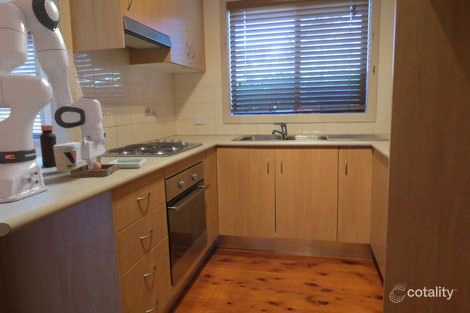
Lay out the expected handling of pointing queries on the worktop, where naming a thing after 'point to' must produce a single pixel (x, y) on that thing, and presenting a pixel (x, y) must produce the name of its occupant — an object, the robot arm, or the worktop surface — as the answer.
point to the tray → (129, 163)
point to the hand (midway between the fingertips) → (94, 167)
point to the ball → (96, 166)
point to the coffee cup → (65, 157)
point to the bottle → (48, 146)
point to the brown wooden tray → (94, 171)
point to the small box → (77, 151)
